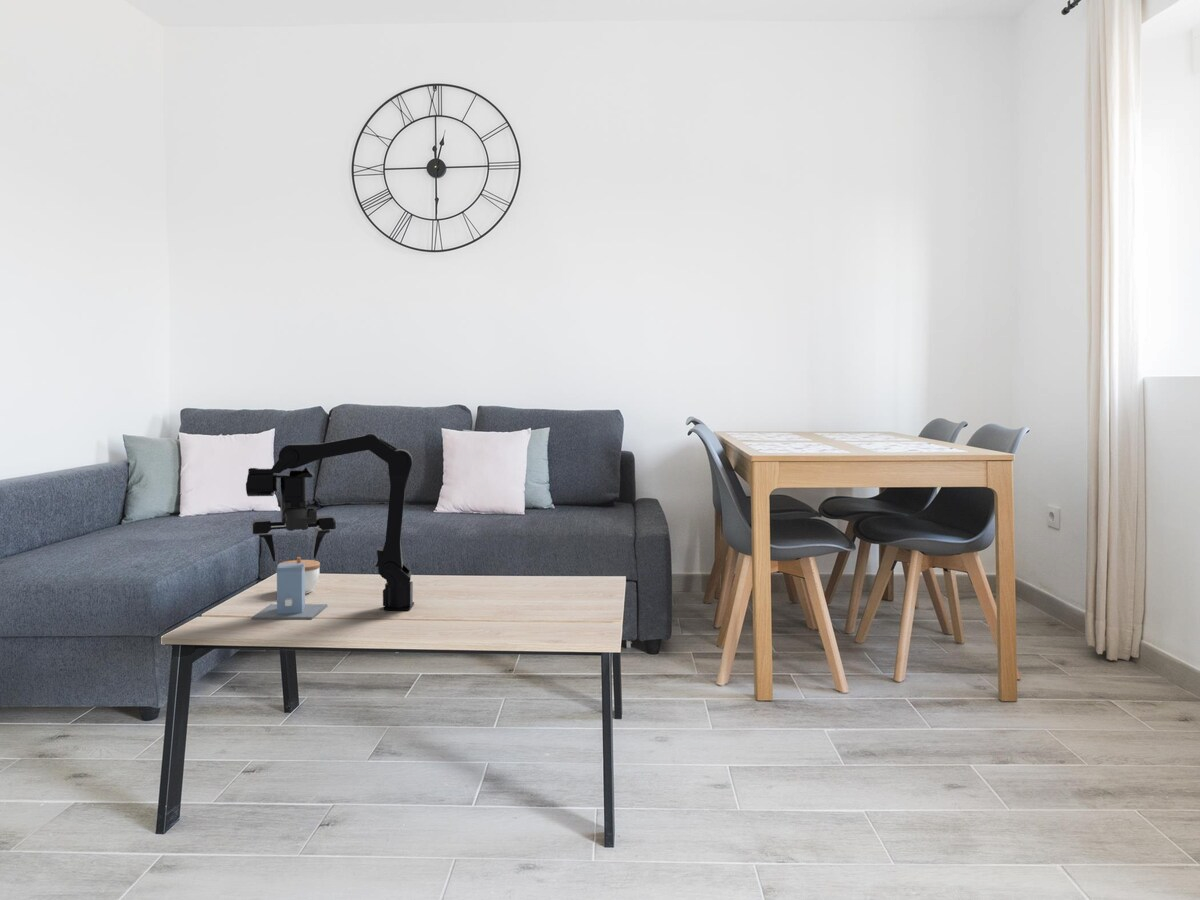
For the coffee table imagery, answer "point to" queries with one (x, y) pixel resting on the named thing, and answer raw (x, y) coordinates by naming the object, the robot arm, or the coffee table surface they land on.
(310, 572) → the lidded jar
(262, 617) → the flat square base plate
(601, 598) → the coffee table surface
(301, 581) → the tall blue rectangular block
